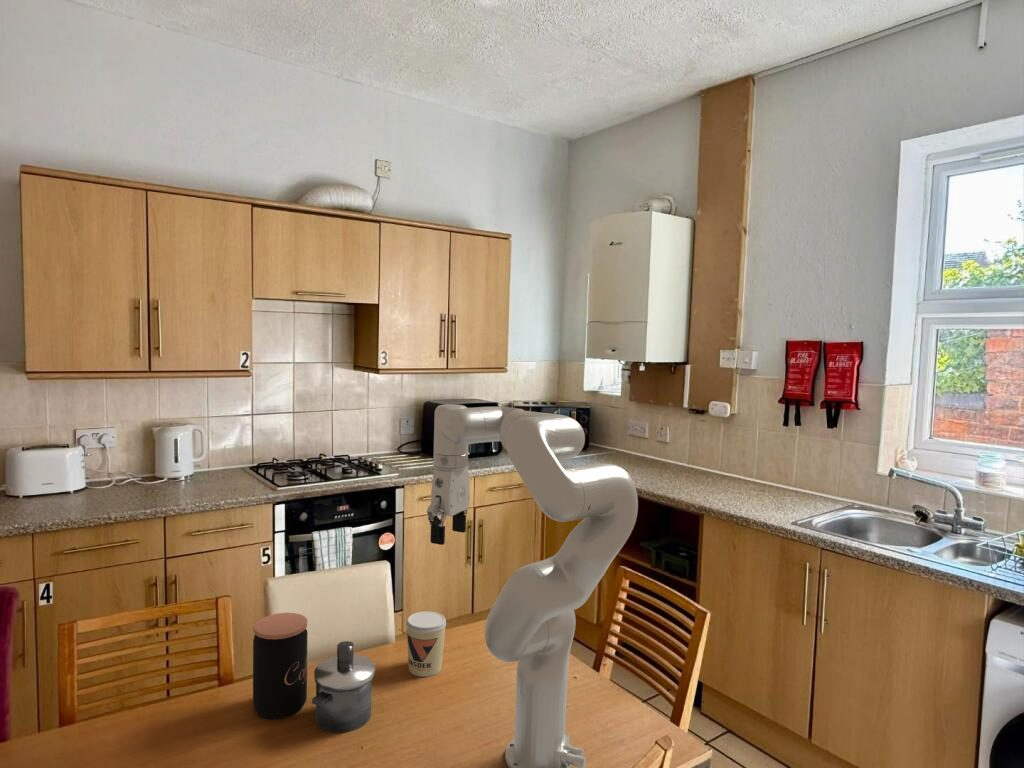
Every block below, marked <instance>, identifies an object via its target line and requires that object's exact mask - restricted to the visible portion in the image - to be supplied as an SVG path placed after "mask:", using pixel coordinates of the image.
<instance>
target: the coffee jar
mask: <svg viewBox="0 0 1024 768" xmlns="http://www.w3.org/2000/svg"><path fill="white" fill-rule="evenodd" d="M307 627H308V618H307V617H306V616H305V615H302V614H299V613H296V612H280V613H279V612H278V613H273V614H269V615H267V616H264V617H262V618H259V619H258V620H257V621H256V622H255V623H254V624H253V629H252V630H253V632H254V636H253V641H252V653H253V654H252V708H253V710H254V712H255V713H256V714H257V715H258V716H259V717H260V718H261V719H266V720H275V721H277V720H283V719H287V718H290V717H291V716H293V715H295V714H297V713H298V712H300V711H301V710H302V708H303V707H304V705H305V703H307V699H308V698H307V697H308V695H307V694H308V630H307Z"/></svg>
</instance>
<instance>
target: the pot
mask: <svg viewBox="0 0 1024 768" xmlns="http://www.w3.org/2000/svg"><path fill="white" fill-rule="evenodd" d="M372 680H373V678H372V679H371V680H370V681H369V682H368V683H366V684H365V685H363V686H360V687H358V688H354V689H350V690H341V691H338V690H328V689H325V688H322V687H320V686H319V685H317V683H316V682H315V696H314V697H312V698H311V704H312V705H315V723H316V725H317V727H319V729H321V730H323V731H325V732H329V733H337V734H339V733H341V734H343V733H349V732H353V731H356V730H358V729H359V728H362V727H363V726H365V725H366V724H367V723H368V722H369V720H371V717H372V686H373V685H372V683H373V681H372Z"/></svg>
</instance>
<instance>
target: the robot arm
mask: <svg viewBox="0 0 1024 768" xmlns="http://www.w3.org/2000/svg"><path fill="white" fill-rule="evenodd" d="M433 423H434V428H433V429H434V430H433V432H434V433H433V465H432V466H433V474H432V482H431V492H430V495H431V496H430V504H429V506H428V507H427V509H426V513H427V517H428V521H429V526H430V543H431V544H433V545H434V544H435V545H439V546H441V545H442V546H443V545H444V544H445V543H446V541H445V540H446V526H445V525H444V523H445V521H446V519H447V516H448V517H452V522H451V524H452V525H451V526H452V527H451V530H452V532H456V533H457V532H458V533H465V532H466V531H467V514H468V508H469V507H470V499H471V498H470V497H471V496H470V495H471V493H470V475H469V474H470V473H469V468H468V467H469V464H468V463H469V445H473V444H479V443H481V444H482V443H493V442H501V443H500V444H501V445H502V447H503V448H504V449H505V450H506V452H507V454H508V457H509V459H510V461H511V463H512V465H513V466H514V468H515V470H516V472H517V473H518V475H519V476H520V478H521V480H522V481H523V484H524V485H525V486H526V488H527V490H528V491H529V494H530V495H531V496H532V499H533V500H534V501H535V504H537V506H538V507H539V509H540V510H541V511H542V512H543V514H544V515H545V516H547V517H548V518H549V519H551V520H553V521H556V522H559V523H560V522H561V523H565V522H571V521H576V520H577V521H578V520H581V519H582V520H581V521H580V522H579V523H578V524H577V525H576V526H575V527H574V528H573V529H572V530H571V531H570V532H569V534H568V535H567V536H566V539H565V540H564V542H563V544H562V545H561V547H560V548H559V550H558V551H557V552H556V553H555V554H554V555H552V556H550V557H548V558H546V559H542V560H539V561H536V562H532V563H528V564H525V565H523V566H521V567H519V568H518V569H517V570H515V571H514V572H513V573H512V574H511V575H510V576H509V578H508V579H507V580H506V582H505V584H504V586H503V587H502V589H501V591H500V593H499V595H498V596H497V597H496V600H495V602H494V603H493V605H492V606H491V609H490V610H489V612H488V615H487V617H486V620H485V626H484V639H485V644H486V647H487V648H488V651H489V652H490V654H491V655H492V656H493V657H494V658H495V659H497V660H499V661H501V662H504V663H513V662H514V663H515V662H517V665H516V679H515V680H516V683H515V707H514V731H513V732H514V733H513V734H514V735H513V736H514V737H513V739H512V740H511V741H510V742H509V743H508V744H507V746H506V747H505V752H504V753H505V755H504V759H505V764H506V765H507V767H508V768H572V766H574V767H577V768H586V764H587V757H586V756H583V755H584V752H585V751H584V748H581V747H577V746H574V745H572V744H571V743H570V739H571V737H570V734H566V722H567V702H568V701H567V699H568V698H567V695H568V681H569V680H568V679H569V663H570V662H569V661H570V654H571V650H572V649H571V648H572V644H573V641H574V637H575V636H574V635H575V633H576V632H575V631H576V623H577V622H576V613H575V610H577V609H579V608H581V607H582V606H583V605H584V604H585V603H587V601H588V600H589V598H590V596H591V595H592V594H593V592H594V590H595V589H596V587H597V586H598V584H599V583H600V581H601V579H603V576H604V575H605V574H606V572H607V570H608V569H609V567H610V565H611V564H612V562H613V561H614V559H615V558H616V556H617V555H618V554H619V553H620V551H621V549H622V548H623V547H624V545H625V544H626V542H627V540H628V539H629V537H630V536H631V534H632V532H633V530H634V527H635V525H636V522H637V517H638V513H639V512H638V511H639V510H638V509H639V499H638V492H637V488H636V484H635V482H634V480H633V478H632V477H631V475H630V474H629V473H628V471H626V470H625V469H624V468H623V467H621V466H619V465H615V464H613V463H606V462H605V463H604V462H603V463H590V464H583V465H578V466H570V467H565V468H564V467H563V466H562V465H561V463H563V462H567V461H571V460H572V459H574V458H575V457H577V456H578V455H579V454H580V452H582V450H583V448H584V446H585V442H586V436H585V435H586V434H585V431H584V429H583V427H582V425H581V424H580V423H579V422H578V421H577V420H575V419H574V418H572V417H570V416H567V415H564V414H559V413H550V412H549V413H548V412H538V411H530V410H524V409H523V408H515V407H509V406H478V407H467V406H466V405H463V404H455V403H454V404H452V403H445V404H439V405H438V406H437V407H436V408H435V410H434V420H433ZM439 517H440V518H439Z"/></svg>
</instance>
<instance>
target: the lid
mask: <svg viewBox="0 0 1024 768" xmlns="http://www.w3.org/2000/svg"><path fill="white" fill-rule="evenodd" d="M313 673H314V674H313V675H314V676H313V677H314V678H313V679H314V682H315V684H316V683H317V685H319V686H320V687H322V688H325V689H328V690H338V691H341V690H350V689H354V688H358V687H360V686H363V685H365V684H366V683H368V682H369V681H370V680H371V679H372V680H373V678H374V677H375V674H376V664H375V661H373V660H372V658H369V657H368V656H365V655H363V654H362V655H361V654H355V653H354V643H353V641H345V640H344V641H341V642H338V643H337V645H336V655H334V656H330V657H328V658H326V659H324V660H322V661H320V662H319V663H318V664H317V665H316V667H315V668H314V671H313Z"/></svg>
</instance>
